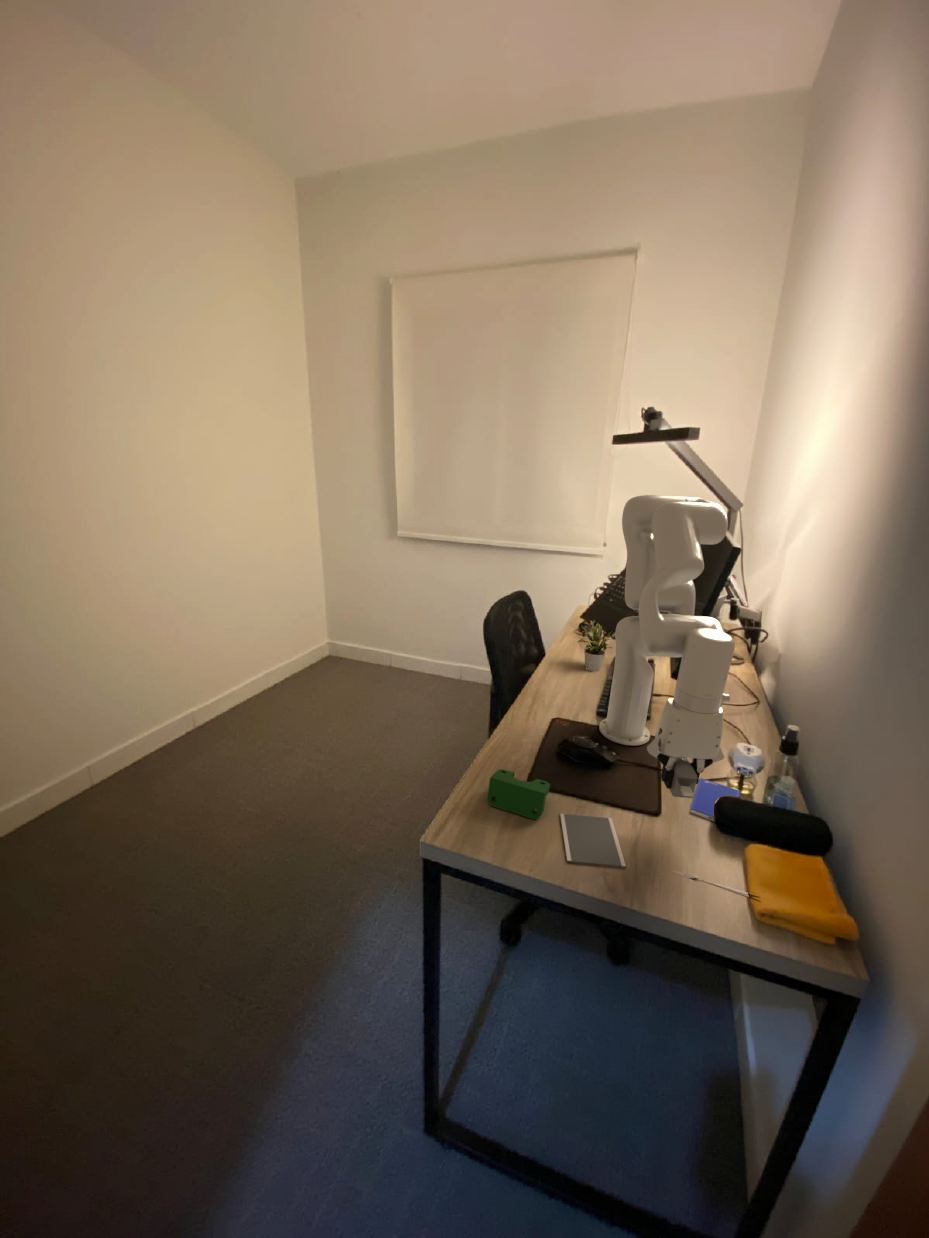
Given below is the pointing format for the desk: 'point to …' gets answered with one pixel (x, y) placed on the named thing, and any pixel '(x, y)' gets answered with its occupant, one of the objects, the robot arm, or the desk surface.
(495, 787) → the clamp
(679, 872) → the stylus
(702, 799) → the hard drive
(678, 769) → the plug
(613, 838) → the mat
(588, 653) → the house plant
